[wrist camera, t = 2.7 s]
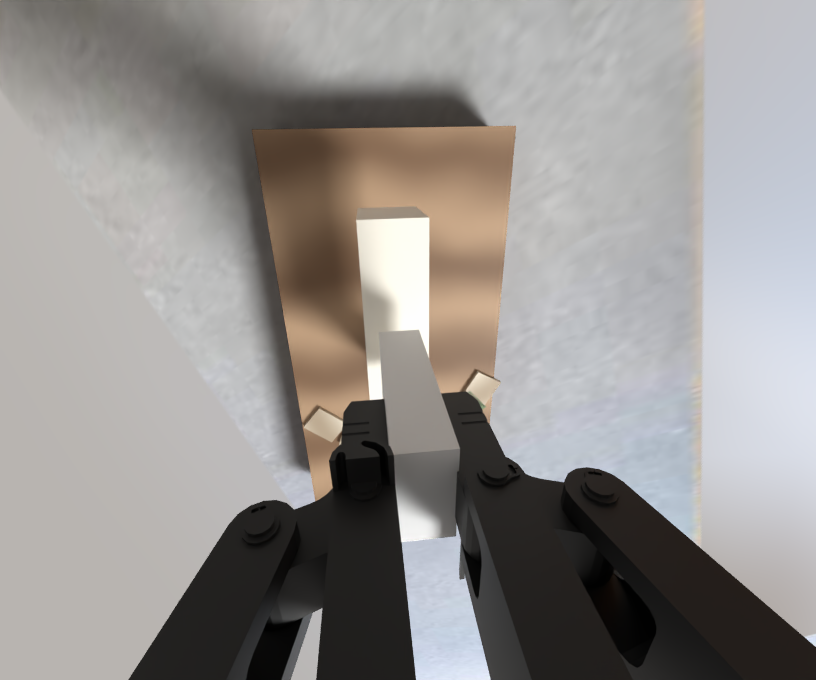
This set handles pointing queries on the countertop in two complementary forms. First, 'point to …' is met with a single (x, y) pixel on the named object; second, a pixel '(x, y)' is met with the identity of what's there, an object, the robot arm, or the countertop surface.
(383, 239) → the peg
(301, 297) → the board
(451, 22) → the countertop surface
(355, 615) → the robot arm
